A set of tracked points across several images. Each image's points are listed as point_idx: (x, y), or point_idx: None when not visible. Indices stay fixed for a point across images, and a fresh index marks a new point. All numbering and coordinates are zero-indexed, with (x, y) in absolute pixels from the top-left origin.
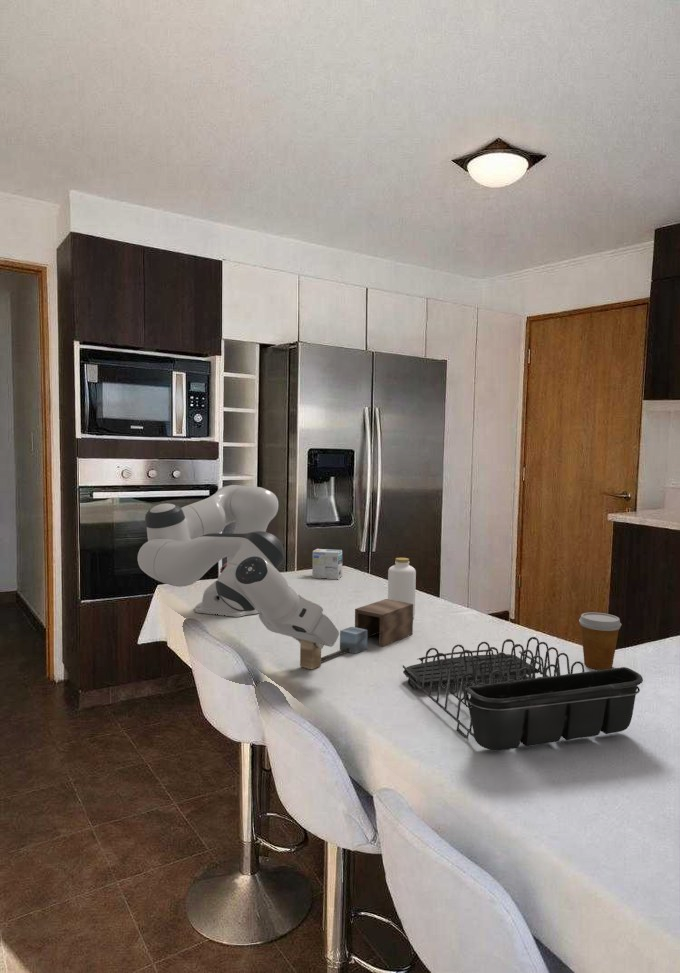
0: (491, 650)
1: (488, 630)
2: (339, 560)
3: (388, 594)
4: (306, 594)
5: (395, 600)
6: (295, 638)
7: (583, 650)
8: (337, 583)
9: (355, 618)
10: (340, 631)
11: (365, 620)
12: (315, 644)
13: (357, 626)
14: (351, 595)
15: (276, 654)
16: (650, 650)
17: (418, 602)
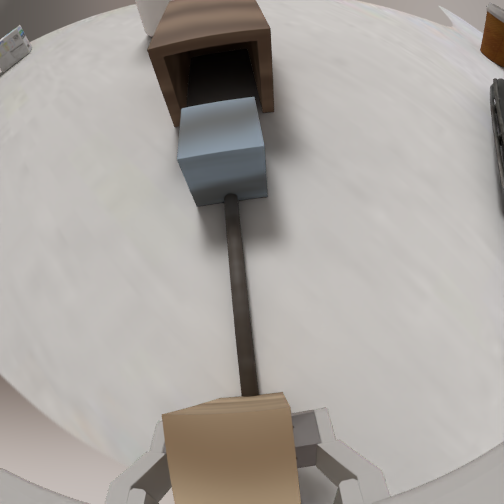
0: (497, 80)
1: (324, 6)
2: (21, 34)
3: (141, 3)
4: (3, 95)
5: (162, 5)
6: (164, 494)
7: (494, 46)
8: (31, 55)
9: (158, 75)
10: (180, 161)
11: (175, 64)
12: (308, 465)
13: (173, 92)
14: (58, 52)
15: (71, 397)
16: (458, 20)
17: None
